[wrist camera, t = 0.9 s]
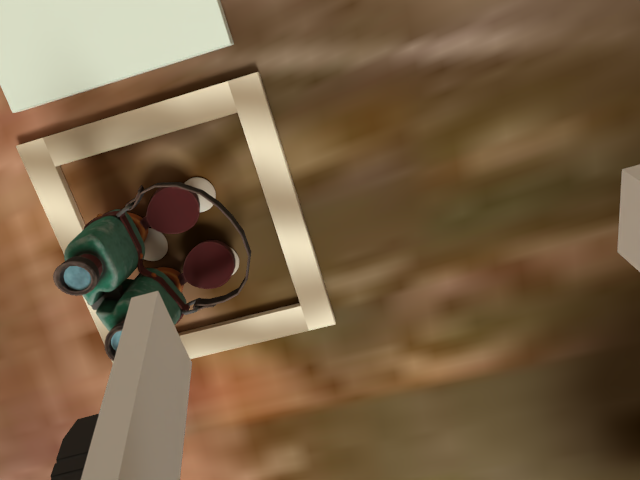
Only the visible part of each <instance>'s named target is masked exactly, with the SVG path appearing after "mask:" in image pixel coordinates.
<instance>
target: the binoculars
mask: <svg viewBox="0 0 640 480" xmlns="http://www.w3.org/2000/svg"><path fill="white" fill-rule="evenodd" d="M154 187H160V188H159V189H158V190H157V191H156V192H155V193H154V194H153V196H152V198H151V200H150V203H149V205H148V208H147V214H146V216H145V217H144V218H141V217H140V216H138V215H136V214H133V213H129V212H126V211H127V210H132V209H133V208H134V207H136V205H137V204H138V203H139V202H140V200H141V198H142V197H143V195H144V193H145V192H146V191H148V190H150V189H152V188H154ZM196 193H197V194H200V195H201V196H202V197H204V198H205V199H207V200H208V201H209V202H211V203H212V204H214V205H215V206H216V207H218V209H219V210H220V211H221V212H222V213H223V214H224V215H225V216H226V217H227V218H228V219H229V220H230V221H231V223H232V224H233V225H234V227H235V228H236V229H237V231H238V232H239V234H240V235H241V237H242V240H243V243H244V246H245V249H246V251H247V254H248V262H247V270H246V277H245V278H244V280H243V282H242V283H241V285H240V287H239V288H238V289H236V290H234V291H232V292H230V293H228V294H227V295H224V296H220V297H216V298H211V299H201V298H198V299H196V300H193V301H191V302H189V303H187V304H186V299H185V297H184V296H183V294H182V290H183V286H184V284H185V283H186V282H188V283H189V284H191V285H193V286H195V287H198V288H204V289H212V288H217V287H220V286H222V285H223V284H225V283H226V282H227V281H228V280H229V279H230V277H231V276H232V274H233V272H234V269H235V264H236V260H235V256H234V253H233V251H232V250H231V248H230V247H229V246H228V245H226V244H225V243H223V242H221V241H218V240H206V241H203V242H201V243H199V244H198V245H197V246H195V247H194V248H193V249H192V250H191V251H190V253H189V254H188V256H187V257H186V260H185V262H184V266H183V273H181V274H180V273H179V272H178V271H176V270H174V269H172V268H167V267H159V268H155V269H154V268H144V266H143V259H144V256H145V245H144V242H145V240H146V238H147V236H148V227H150V226H151V227H152V228H153V229H154V230H156V231H158V232H162V233H166V234H178V233H182V232H185V231H187V230H189V229H190V228H192V227H193V226H194V225H195V223H196V222H197V220H198V218H199V214H200V202H199V198H198V196H197V194H196ZM250 256H251V250H250V247H249V244H248V241H247V239H246V236H245V233H244V230H243V229H242V228H241V226H240V225H239V223H238V222H237V221H236V219H235V218H234V216H233V215H232V214H231V213H230V212H229V211H228V210H227V209H226V208H225V207H224V206H223V205H222V204H221V203H220V202H219V201H218V200H216V199H215V198H213V197H212V196H211V195H209V194H208V193H206V192H205V191H204V190H201V189H198V188H195V187H192V186H189V185H186V184H184V183H181V182H168V183H156V184H155V185H153V186H151V187H149V188H147V189H145V190H144V188H143V186H142V185H141V186H140V188H139V190H138V193H137V194H136V198H134V199H133V200H131V201H130V202H128V203H127V204H126V205H125V208H123V209H121V210H120V209H115V210H112V211H110V212H107V213H105V214H103V215H102V214H98V215H97V217H96V218H94V219H93V220H91V221H90V222H89V223H88V224H86V225H85V226H84V230H83V231H82V232H81V233H80V234H79V235H77V236H76V237H75V238H74V239H73V240H72V241H71V242H70V243H69V244H68V246H67V247H66V249H65V253H64V258H65V262H64V263H62V264H61V265H60V266H58V267H57V268H56V270H55V272H54V275H53V279H54V282H55V285H56V286H57V287H58V288H59V289H60V290H61V291H62V292H64V293H66V294H70V295H75V296H78V295H83V297H84V298H85V299H86V301H87V303H88V305H90V306H91V307H92V309H93V310H97V311H96V314H97V316H98V317H99V319H100V320H101V322H102V323H103V324H104V326H105V327H106V328H107V330H108V331H109V333H108V334H107V336H106V339H105V351H106V353H107V355H108V357H109V358H110V359H111V360H112V361H114V358H115V355H116V351H117V347H118V344H119V340H120V337H121V333H122V329H123V326H124V322H125V319H126V315H127V311H128V308H129V304H130V301H131V298H132V297H136V296H140V295H144V294H148V293H151V292H155V291H159V294H160V296H161V298H162V300H163V302H164V304H165V306H166V309H167V311H168V313H169V315H170V317H171V319H172V321H173V323H174V325H176V323H178V322H179V321H180V319H181V318H182V317H183V315H184V314H185V315H187V314H190V313H194V312H197V311H198V310H201V309H203V308H208V307H214V306H215V305H216V304H218V303H222V302H225V301H227V300H229V299H231V298H233V297H234V296H236V295H238V294H239V293H240V291H241V289H242V288H243V286H244V284H245V283H246V281H247V278H248V272H249V264H250ZM137 267H138V270H139V272H140V274H139V275H138V276H137V277H136V278H135V279H134V280H132V279H127V278H128V277H129V276H130V275H131V274H132V272H133V271H134V270H135V269H136V268H137ZM192 304H194V306H193V310H189V308H190V305H192ZM188 310H189V311H188Z"/></svg>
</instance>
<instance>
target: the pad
mask: <svg viewBox="0 0 640 480" xmlns="http://www.w3.org/2000/svg"><path fill="white" fill-rule="evenodd" d="M230 45H234V43H233V40H232V36H231V33H230V30H229V27H228V24H227V21H226V17H225V14H224V11H223V8H222V5H221V2H220V0H0V85H1V88H2V90H3V92H4V94H5V97H6V99H7V101H8V103H9V106H10V108H11V110H12V112H13V113H15V112H21V111H24V110H27V109H31V108H34V107H37V106H40V105H43V104H46V103H50V102H53V101H56V100H59V99H62V98H65V97H69V96H72V95H75V94H78V93H81V92H84V91H88V90H91V89H94V88H97V87H100V86H104V85H107V84H110V83H113V82H116V81H119V80H123V79H126V78H129V77H132V76H135V75H138V74H142V73H145V72H148V71H151V70H154V69H157V68H161V67H164V66H167V65H170V64H173V63H177V62H180V61H183V60H186V59H189V58H192V57H196V56H199V55H202V54H205V53H208V52H211V51H215V50H218V49H221V48H224V47H227V46H230Z"/></svg>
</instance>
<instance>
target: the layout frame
mask: <svg viewBox="0 0 640 480" xmlns="http://www.w3.org/2000/svg"><path fill="white" fill-rule="evenodd" d="M237 112H238V115H239V118H240V121H241V124H242V127H243V130H244V133H245V136H246V140H247V143H248V146H249V149H250V152H251V155H252V158H253V161H254V164H255V167H256V170H257V173H258V176H259V179H260V182H261V186H262V189H263V192H264V195H265V198H266V201H267V204H268V207H269V210H270V213H271V216H272V219H273V222H274V225H275V228H276V232H277V235H278V238H279V241H280V244H281V247H282V250H283V253H284V256H285V259H286V262H287V265H288V268H289V271H290V274H291V277H292V281H293V284H294V287H295V290H296V293H297V296H298V299H299V302H300V303H297V304H293V305H289V306H285V307H281V308H277V309H273V310H269V311H265V312H261V313H257V314H253V315H249V316H245V317H241V318H237V319H233V320H229V321H225V322H220V323H216V324H212V325H208V326H204V327H200V328H196V329H192V330H188V331H184V332H180V333H178V334H179V336H180V338H181V341H182V343H183V345H184V347H185V349H186V351H187V353H188V356H189V358H190V359H192V358H196V357H201V356H205V355H209V354H213V353H217V352H222V351H226V350H230V349H234V348H238V347H242V346H247V345H251V344H255V343H259V342H263V341H267V340H272V339H276V338H280V337H284V336H288V335H292V334H297V333H301V332H305V331H309V330H313V329H318V328H322V327H326V326H330V325H334V324H336V320H335V316H334V313H333V310H332V307H331V303H330V300H329V297H328V294H327V290H326V287H325V284H324V281H323V277H322V274H321V271H320V268H319V264H318V261H317V258H316V255H315V252H314V248H313V245H312V242H311V239H310V235H309V232H308V229H307V226H306V222H305V219H304V216H303V213H302V209H301V206H300V203H299V200H298V196H297V193H296V190H295V187H294V184H293V180H292V177H291V174H290V171H289V167H288V164H287V161H286V158H285V154H284V151H283V148H282V145H281V141H280V138H279V135H278V132H277V128H276V125H275V122H274V119H273V116H272V112H271V109H270V106H269V103H268V99H267V96H266V93H265V90H264V86H263V83H262V80H261V77H260V73H259V72H256V73H253V74H249V75H246V76H243V77H240V78H236V79H233V80H230V81H227V82H223V83H220V84H217V85H213V86H210V87H207V88H204V89H200V90H197V91H194V92H191V93H187V94H184V95H181V96H178V97H174V98H171V99H168V100H164V101H161V102H158V103H155V104H151V105H148V106H145V107H142V108H138V109H135V110H132V111H129V112H125V113H122V114H119V115H116V116H112V117H109V118H106V119H102V120H99V121H96V122H93V123H89V124H86V125H83V126H80V127H76V128H73V129H70V130H67V131H63V132H60V133H57V134H54V135H50V136H47V137H44V138H40V139H37V140H34V141H31V142H27V143H24V144H21V145H18V146H16V148H17V150H18V152H19V154H20V157H21V159H22V161H23V163H24V166H25V168H26V170H27V172H28V175H29V177H30V179H31V181H32V184H33V186H34V188H35V190H36V192H37V195H38V197H39V199H40V201H41V204H42V206H43V208H44V210H45V213H46V215H47V217H48V219H49V222H50V224H51V226H52V228H53V231H54V233H55V235H56V237H57V239H58V242H59V244H60V246H61V248H62V251H63V253H65V249H66V247H67V246H68V244H69V243H70V242H71V241H72V240H73V239H74V238H75V237H76V236H77V235H79V234H80V233H81V232H82V231H83V230H84V226H85V223H84V221H83V219H82V216H81V214H80V212H79V209H78V207H77V205H76V202H75V200H74V198H73V195H72V193H71V191H70V188H69V186H68V184H67V181H66V179H65V177H64V174H63V172H62V170H61V167H60V165H63V164H66V163H69V162H73V161H76V160H79V159H83V158H86V157H90V156H93V155H96V154H100V153H103V152H106V151H110V150H113V149H116V148H120V147H123V146H126V145H130V144H133V143H137V142H140V141H143V140H147V139H150V138H153V137H157V136H160V135H163V134H167V133H170V132H173V131H177V130H180V129H184V128H187V127H190V126H194V125H197V124H200V123H204V122H207V121H210V120H214V119H217V118H220V117H224V116H227V115H231V114H234V113H237ZM184 184H186V185H189V186H192V187H195V188H198V189H201V190H204V191H205V192H206V193H208V194H209V195H211V196H212V197H213V198H215V199H216V192H215V189H214V187H213V186H212V184H211V183H210V182H209V181H207V180H206V179H203V178H199V177H195V178H191V179H189V180H187V181H186V182H185V183H184ZM196 194H197V193H196ZM197 196H198V198H199V202H200V212H204V211H207V210H208V209H210V208H211V207H212V206H213V204H212V203H211V202H209V201H208V200H207V199H205V198H204V197H202V196H201V195H200V194H197ZM144 245H145V256H144V259H145V260H148V261H157V260H160V259H161V258H163V257H164V256H165V254H166V253H167V250H168V243H167V240H166V238H165V236H164V235H163V234H162V233H161V232H158V231H156V230H154V229H151V228H148V236H147V238H146V240H145V242H144ZM231 250H232V251H233V253H234V256H235V260H236V264H235V269H234V272H233V274H234V273H235V272H236V271H237V269H238V267H239V257H238V255H237V253H236V252H235V251H234V250H233V249H232V248H231ZM233 274H232V275H233ZM83 298H84V297H83ZM84 300H85V302H86V304H87V307H88V309H89V311H90V313H91V316H92V318H93V320H94V322H95V324H96V327H97V329H98V331H99V333H100V336H101V338H102V340H103V342H104V345H105V339H106V336H107V334H108V333H109V331H108V330H107V328H106V327H105V326H104V324H103V323H102V322H101V320H100V319H99V317H98V316H97V314H96V311H97V310H93V309H92V307H91V306H90V305H88V303H87V301H86V299H85V298H84ZM112 362H114V361H112Z"/></svg>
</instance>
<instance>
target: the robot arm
mask: <svg viewBox="0 0 640 480" xmlns="http://www.w3.org/2000/svg"><path fill="white" fill-rule="evenodd" d="M617 252H618V253H619V254H620V255H621V256H622V257H624V258H625V259H626V260H627V261H628V262H629V263H630V264H631V265H632V266H634V267H635V268H636V269H637V270H638V271H639V272H640V165H636V166H633V167H629V168H625V169H622V179H621V197H620V215H619V233H618V251H617ZM191 367H192V362H191V360H190V358H189V356H188V353H187V351H186V349H185V347H184V345H183V343H182V341H181V338H180V336H179V334H178V332H177V330H176V328H175V326H174V323H173V321H172V319H171V317H170V315H169V313H168V311H167V309H166V306H165V304H164V302H163V300H162V298H161V296H160V294H159V291H155V292H151V293H148V294H144V295H140V296H136V297H132V298H131V301H130V304H129V308H128V311H127V315H126V319H125V322H124V326H123V329H122V333H121V337H120V340H119V344H118V347H117V351H116V355H115V358H114V362H113V365H112V369H111V373H110V376H109V380H108V383H107V387H106V391H105V394H104V398H103V401H102V405H101V409H100V412H99V414H96V415H93V416H89V417H85V418H81V419H77V421H76V422H75V424H74V425H73V426H72V428H71V429H70V430H69V432H68V433H67V435H66V436H65V437H64V439H63V441H62V444H61V447H60V450H59V453H58V456H57V459H56V460H57V463H56V464H55V465H54V468H53V471H52V474H51V480H180V473H181V464H182V454H183V444H184V435H185V425H186V416H187V406H188V396H189V387H190V377H191Z"/></svg>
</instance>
